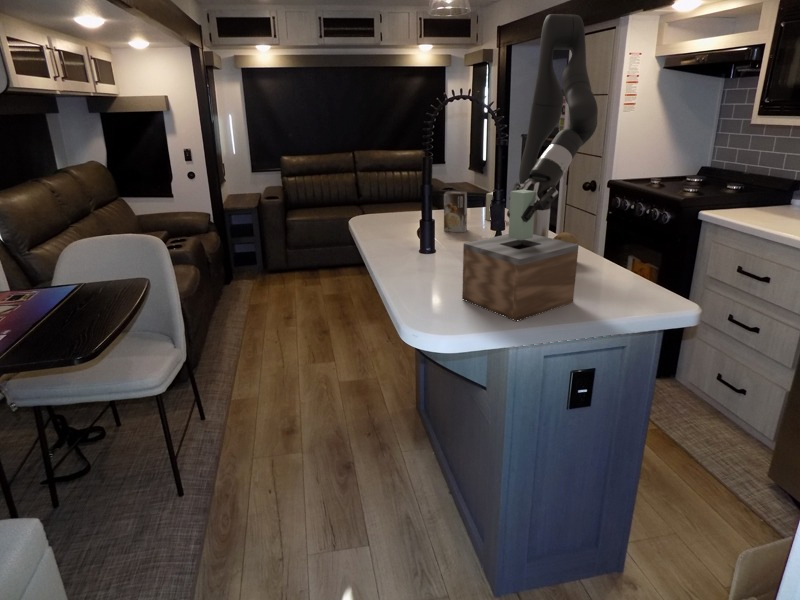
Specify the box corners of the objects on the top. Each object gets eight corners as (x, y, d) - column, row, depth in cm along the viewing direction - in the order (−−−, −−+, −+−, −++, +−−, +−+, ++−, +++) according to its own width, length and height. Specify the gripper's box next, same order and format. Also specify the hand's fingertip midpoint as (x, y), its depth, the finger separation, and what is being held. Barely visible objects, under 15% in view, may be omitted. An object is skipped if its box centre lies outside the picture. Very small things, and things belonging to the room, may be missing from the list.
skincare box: (491, 217, 252) (492, 191, 248) (500, 218, 250) (501, 192, 246) (484, 220, 248) (485, 193, 244) (493, 221, 245) (494, 194, 241)
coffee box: (467, 229, 231) (468, 191, 225) (464, 232, 225) (465, 194, 219) (446, 228, 233) (446, 191, 228) (443, 231, 228) (443, 193, 222)
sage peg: (508, 237, 141) (510, 191, 137) (519, 234, 144) (522, 189, 140) (520, 240, 138) (523, 193, 134) (532, 237, 140) (535, 191, 136)
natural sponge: (554, 256, 188) (556, 228, 185) (580, 259, 184) (583, 231, 180) (546, 263, 181) (548, 233, 177) (573, 266, 176) (576, 236, 173)
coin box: (462, 299, 149) (463, 243, 143) (517, 284, 161) (520, 231, 155) (516, 321, 133) (520, 259, 128) (572, 302, 145) (578, 244, 140)
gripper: (524, 155, 144) (489, 206, 141) (567, 158, 133) (531, 213, 130) (536, 173, 148) (503, 223, 146) (579, 178, 137) (544, 232, 135)
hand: (516, 218), depth 138 cm, fingers closed on sage peg, 4 cm apart
